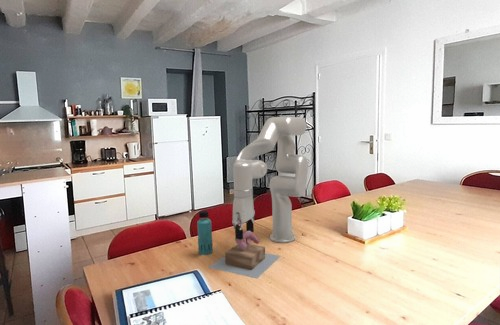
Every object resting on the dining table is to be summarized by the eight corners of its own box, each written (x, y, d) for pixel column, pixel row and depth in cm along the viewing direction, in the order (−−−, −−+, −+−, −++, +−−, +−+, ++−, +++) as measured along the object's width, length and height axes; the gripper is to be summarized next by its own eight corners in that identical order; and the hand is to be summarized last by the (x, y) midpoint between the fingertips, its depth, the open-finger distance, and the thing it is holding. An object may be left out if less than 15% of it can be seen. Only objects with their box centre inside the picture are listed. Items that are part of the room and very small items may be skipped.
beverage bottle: (199, 259, 140) (196, 214, 138) (197, 253, 147) (195, 210, 144) (214, 257, 142) (212, 212, 140) (211, 251, 148) (209, 209, 146)
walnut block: (240, 253, 141) (240, 242, 141) (265, 258, 136) (264, 246, 135) (225, 264, 131) (225, 252, 130) (251, 270, 125) (251, 257, 125)
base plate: (236, 250, 148) (236, 247, 148) (281, 259, 138) (281, 255, 138) (208, 270, 129) (208, 267, 129) (257, 282, 119) (257, 278, 118)
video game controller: (253, 245, 136) (247, 229, 137) (260, 242, 134) (254, 226, 135) (237, 253, 129) (231, 236, 130) (245, 250, 126) (239, 233, 127)
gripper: (245, 188, 139) (247, 227, 141) (223, 197, 124) (225, 241, 126) (261, 189, 136) (262, 230, 138) (240, 198, 120) (242, 243, 122)
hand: (244, 235), depth 132 cm, fingers closed on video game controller, 8 cm apart
